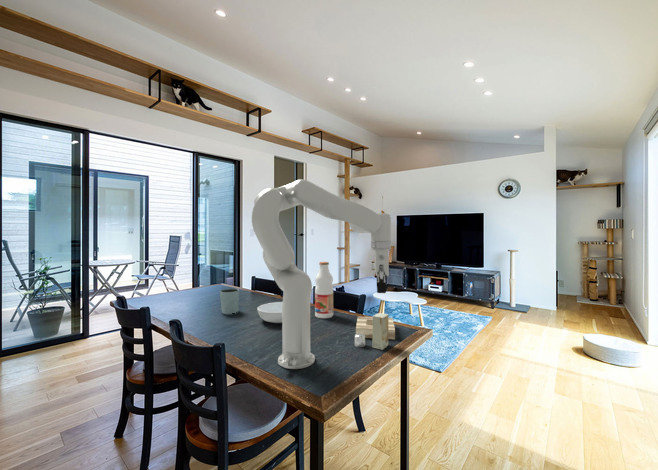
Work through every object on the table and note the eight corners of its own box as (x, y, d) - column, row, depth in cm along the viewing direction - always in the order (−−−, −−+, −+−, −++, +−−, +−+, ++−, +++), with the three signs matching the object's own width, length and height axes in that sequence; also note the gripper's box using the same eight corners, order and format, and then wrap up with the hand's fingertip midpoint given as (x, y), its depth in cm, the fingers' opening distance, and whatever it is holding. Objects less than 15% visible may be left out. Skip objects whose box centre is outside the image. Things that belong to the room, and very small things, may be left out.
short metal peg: (364, 347, 115) (364, 337, 115) (354, 347, 116) (354, 336, 116) (365, 343, 119) (365, 333, 119) (355, 343, 120) (355, 333, 119)
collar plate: (394, 339, 123) (395, 329, 123) (355, 337, 125) (355, 327, 125) (392, 326, 139) (392, 317, 139) (357, 325, 141) (357, 316, 141)
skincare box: (382, 350, 112) (382, 318, 112) (372, 348, 115) (372, 316, 114) (389, 344, 118) (389, 313, 117) (378, 342, 120) (378, 312, 120)
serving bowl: (295, 312, 162) (295, 300, 162) (304, 324, 142) (304, 310, 142) (255, 316, 156) (255, 303, 155) (259, 329, 136) (259, 314, 136)
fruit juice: (336, 317, 153) (336, 262, 153) (319, 319, 150) (318, 263, 149) (328, 312, 162) (328, 260, 161) (312, 314, 158) (312, 261, 157)
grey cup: (236, 314, 158) (235, 292, 158) (216, 314, 158) (216, 292, 158) (241, 309, 168) (241, 288, 168) (223, 309, 169) (223, 288, 168)
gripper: (392, 247, 106) (392, 295, 107) (389, 244, 123) (389, 285, 124) (370, 247, 107) (371, 295, 108) (371, 244, 124) (371, 285, 125)
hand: (381, 290), depth 116 cm, fingers open, 9 cm apart
